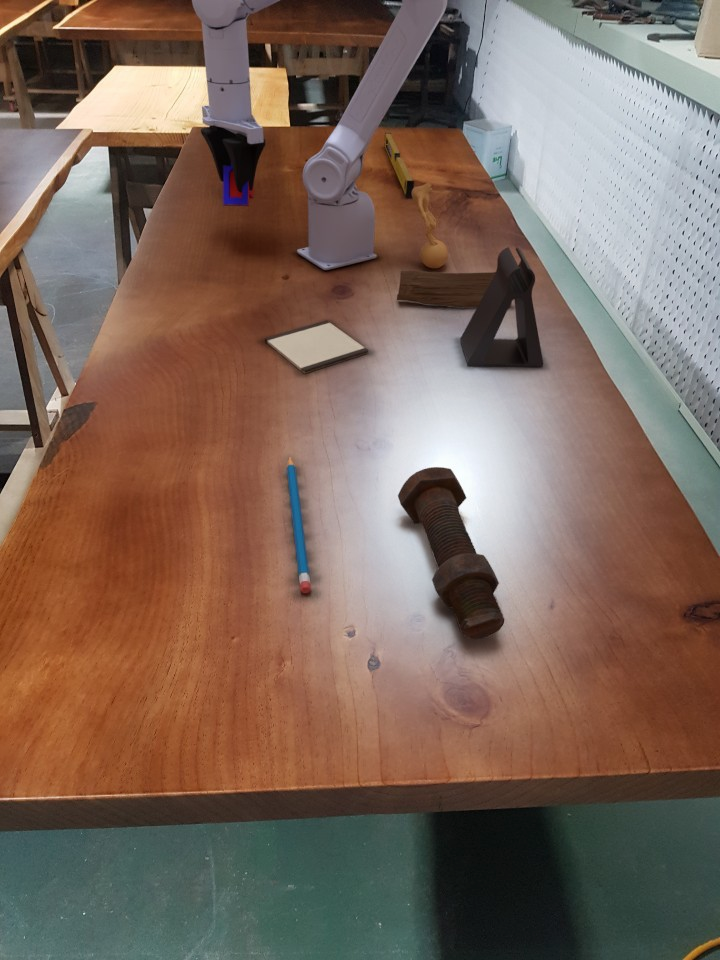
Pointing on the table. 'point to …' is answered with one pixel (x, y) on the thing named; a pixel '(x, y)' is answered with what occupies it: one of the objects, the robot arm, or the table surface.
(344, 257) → the robot arm
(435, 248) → the figurine
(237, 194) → the toy building block
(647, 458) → the table surface
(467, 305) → the wood plank
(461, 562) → the bolt
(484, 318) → the phone stand
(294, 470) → the pencil
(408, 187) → the spirit level
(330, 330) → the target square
